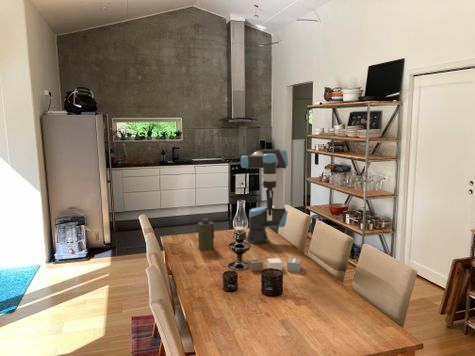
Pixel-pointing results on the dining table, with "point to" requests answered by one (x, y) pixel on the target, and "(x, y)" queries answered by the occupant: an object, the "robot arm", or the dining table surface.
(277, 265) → the plain block
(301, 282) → the dining table surface
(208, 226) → the canister
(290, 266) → the grey block
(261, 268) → the walnut block
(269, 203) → the robot arm
